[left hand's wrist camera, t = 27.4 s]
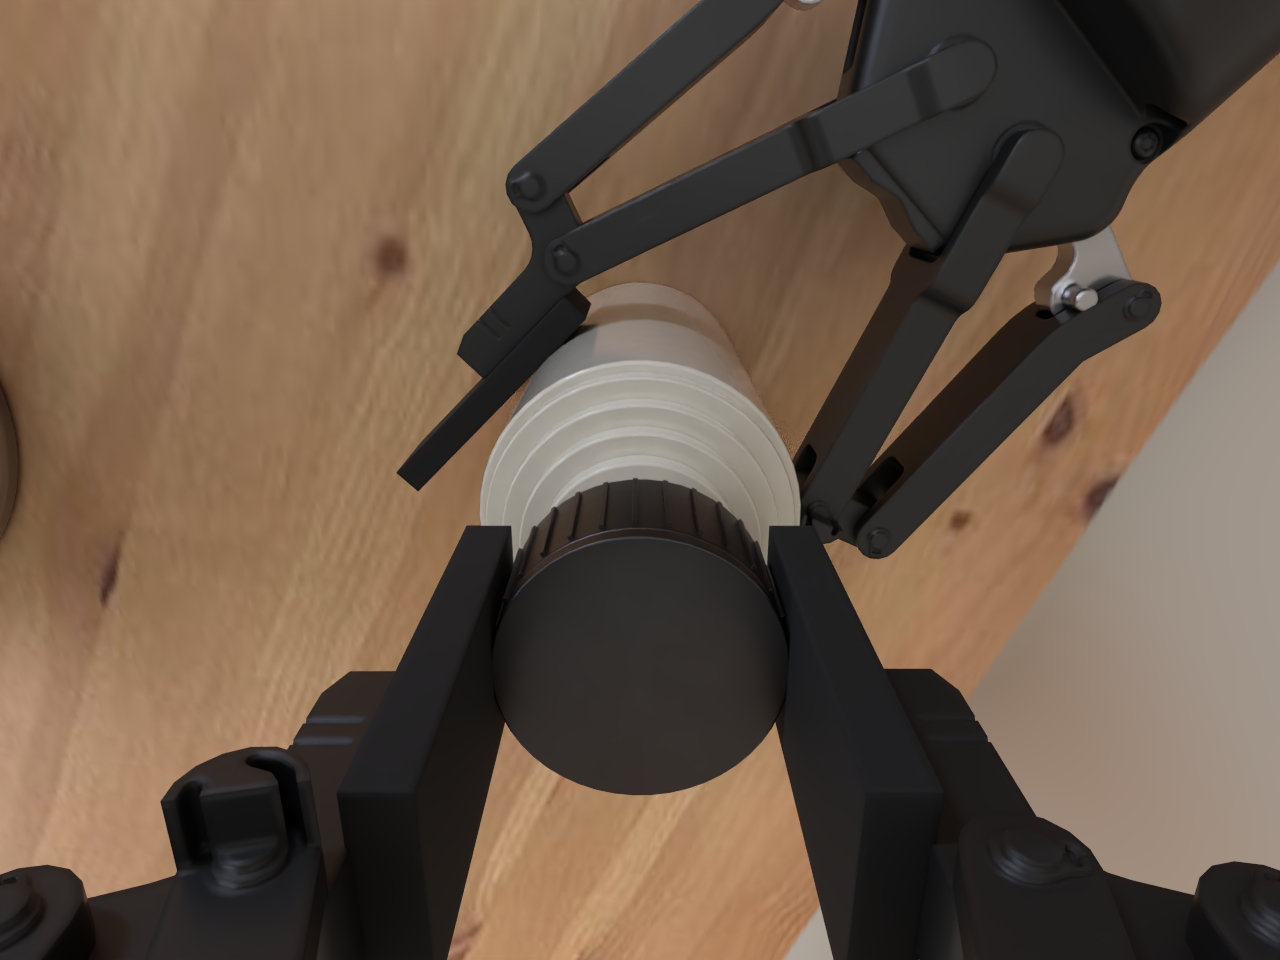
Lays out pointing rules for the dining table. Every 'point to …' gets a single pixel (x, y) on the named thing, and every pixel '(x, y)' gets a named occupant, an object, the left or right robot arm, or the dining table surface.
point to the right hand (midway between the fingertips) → (520, 551)
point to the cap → (640, 640)
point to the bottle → (641, 418)
